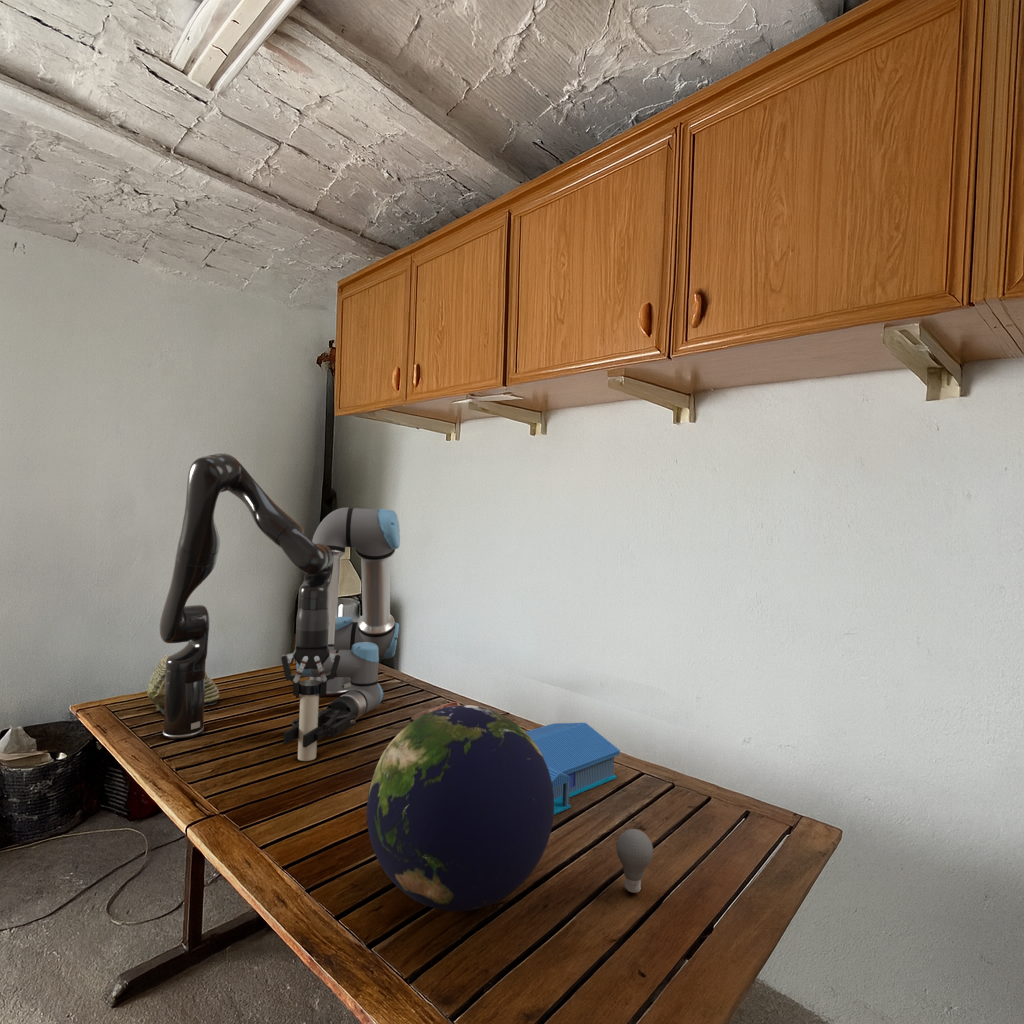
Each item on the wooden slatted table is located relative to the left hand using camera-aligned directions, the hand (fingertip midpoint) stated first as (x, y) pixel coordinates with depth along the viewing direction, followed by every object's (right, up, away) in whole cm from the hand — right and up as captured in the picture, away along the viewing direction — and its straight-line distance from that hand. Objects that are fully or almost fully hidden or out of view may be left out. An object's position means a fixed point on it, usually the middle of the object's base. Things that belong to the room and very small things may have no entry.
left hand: (309, 696), depth 153 cm
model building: (+53, -17, -10) cm, 57 cm away
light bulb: (+69, -19, -47) cm, 86 cm away
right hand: (-2, -9, -5) cm, 10 cm away
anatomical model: (+27, -15, +31) cm, 44 cm away
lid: (0, +3, 0) cm, 3 cm away
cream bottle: (-1, -15, 0) cm, 15 cm away
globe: (+40, -18, -50) cm, 67 cm away
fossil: (-47, -12, +32) cm, 58 cm away
